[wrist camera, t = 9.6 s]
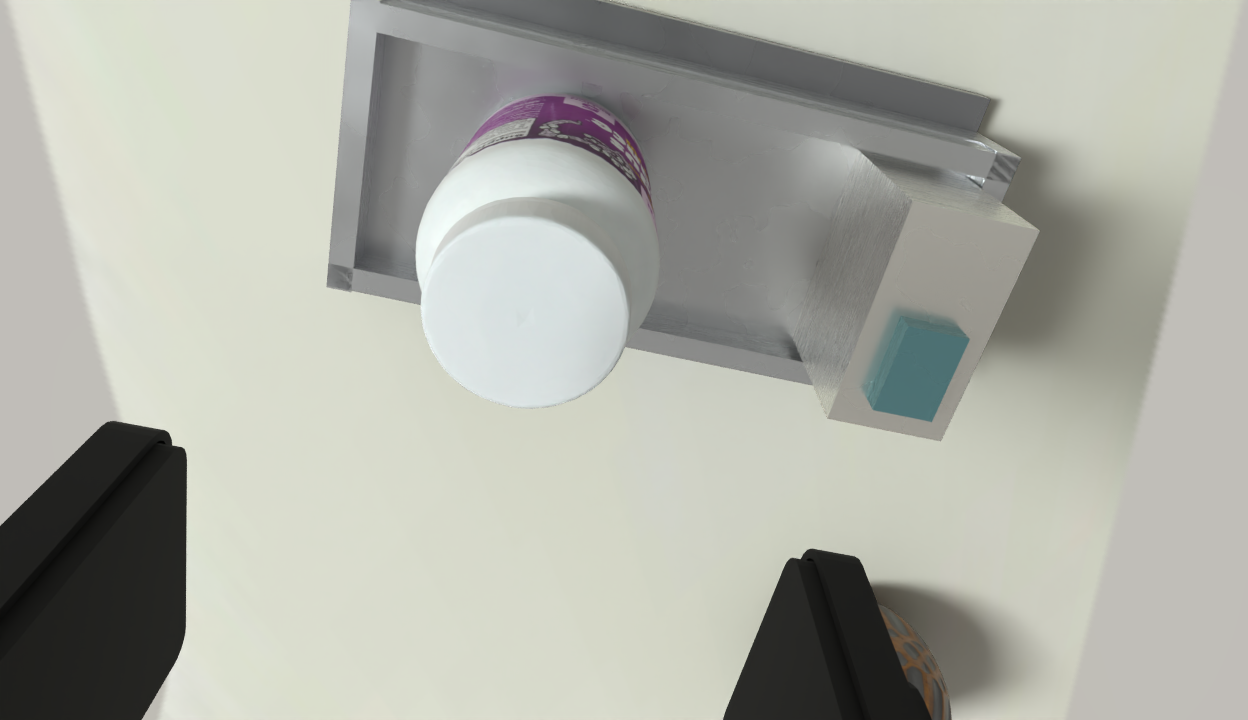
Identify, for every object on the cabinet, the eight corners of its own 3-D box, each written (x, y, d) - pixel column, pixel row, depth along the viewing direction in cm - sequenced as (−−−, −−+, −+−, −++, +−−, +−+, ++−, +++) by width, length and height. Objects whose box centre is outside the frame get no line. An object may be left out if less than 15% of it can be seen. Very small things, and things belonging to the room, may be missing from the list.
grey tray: (392, -54, 24) (295, -43, 17) (980, 94, 26) (1125, 162, 19) (359, 268, 29) (270, 390, 21) (865, 374, 31) (947, 519, 23)
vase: (718, 647, 37) (746, 842, 29) (825, 541, 34) (887, 724, 26) (839, 711, 39) (896, 911, 31) (949, 616, 36) (1041, 807, 28)
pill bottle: (687, 197, 25) (726, 343, 16) (548, 303, 26) (517, 487, 18) (567, 43, 23) (540, 116, 14) (424, 166, 24) (322, 299, 16)
